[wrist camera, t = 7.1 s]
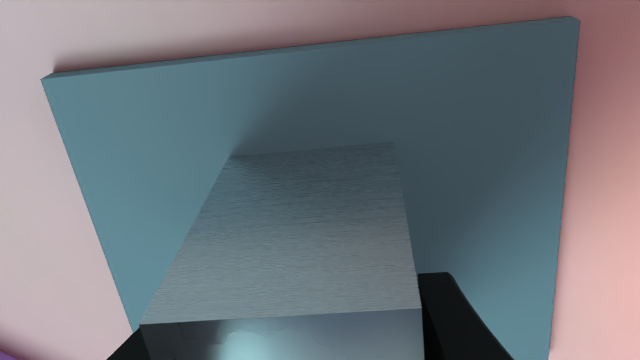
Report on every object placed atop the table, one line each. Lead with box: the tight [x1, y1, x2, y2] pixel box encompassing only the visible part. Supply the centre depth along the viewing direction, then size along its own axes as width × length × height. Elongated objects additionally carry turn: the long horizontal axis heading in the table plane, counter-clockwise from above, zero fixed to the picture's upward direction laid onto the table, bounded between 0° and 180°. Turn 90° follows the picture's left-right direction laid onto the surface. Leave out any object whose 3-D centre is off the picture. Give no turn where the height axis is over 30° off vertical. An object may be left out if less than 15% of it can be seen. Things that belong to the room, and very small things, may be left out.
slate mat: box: [40, 16, 580, 360], centre depth 14 cm, size 12×10×1 cm
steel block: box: [139, 142, 424, 360], centre depth 11 cm, size 4×6×6 cm, turn 7°
